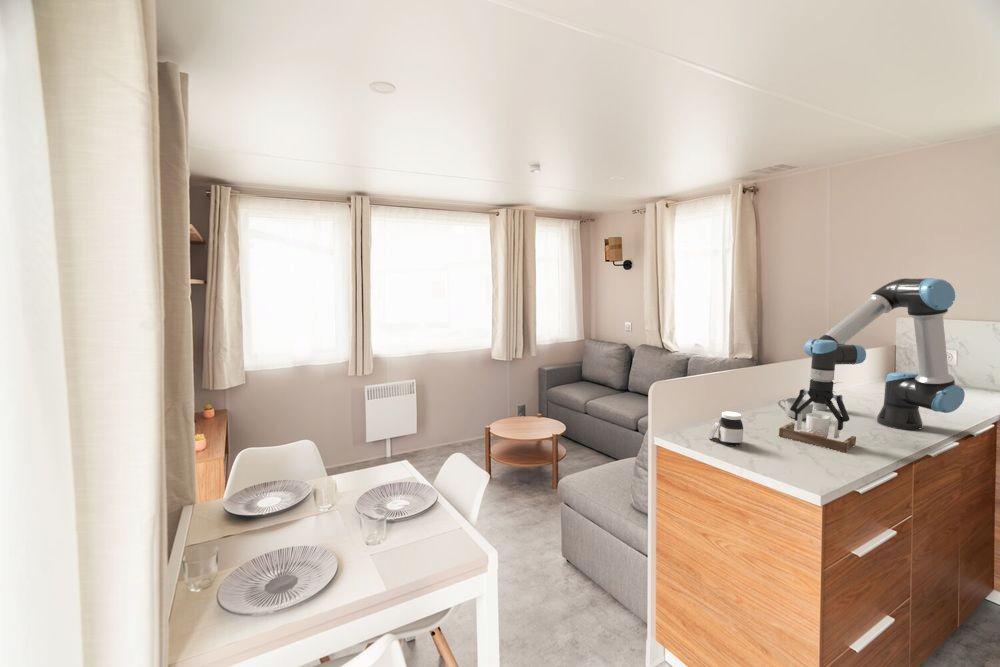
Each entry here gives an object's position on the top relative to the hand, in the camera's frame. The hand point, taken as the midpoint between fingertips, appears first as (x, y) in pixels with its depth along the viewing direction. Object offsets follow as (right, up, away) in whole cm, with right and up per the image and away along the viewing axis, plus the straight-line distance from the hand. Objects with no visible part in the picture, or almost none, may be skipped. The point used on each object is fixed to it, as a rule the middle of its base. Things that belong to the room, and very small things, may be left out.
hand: (817, 433), depth 185 cm
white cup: (0, -3, 0) cm, 3 cm away
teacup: (+11, +1, +32) cm, 33 cm away
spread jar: (-37, -3, -1) cm, 37 cm away
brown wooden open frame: (0, -3, 0) cm, 3 cm away
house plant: (+32, +2, +43) cm, 54 cm away
